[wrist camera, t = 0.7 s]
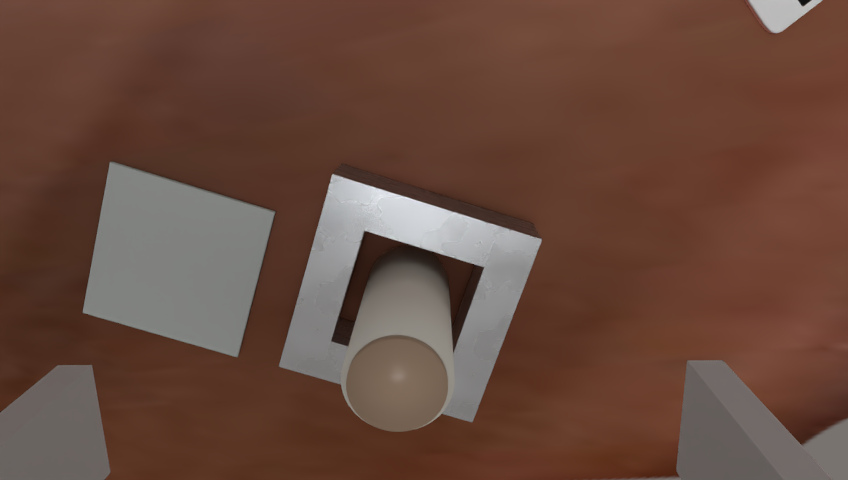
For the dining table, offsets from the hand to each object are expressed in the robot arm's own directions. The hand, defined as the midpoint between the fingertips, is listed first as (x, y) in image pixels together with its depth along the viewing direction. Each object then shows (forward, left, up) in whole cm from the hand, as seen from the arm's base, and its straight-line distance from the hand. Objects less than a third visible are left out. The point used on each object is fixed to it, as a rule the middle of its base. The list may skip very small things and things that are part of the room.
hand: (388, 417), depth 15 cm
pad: (-13, -9, -26) cm, 30 cm away
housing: (+1, -6, -26) cm, 26 cm away
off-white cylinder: (+1, -6, -26) cm, 26 cm away
